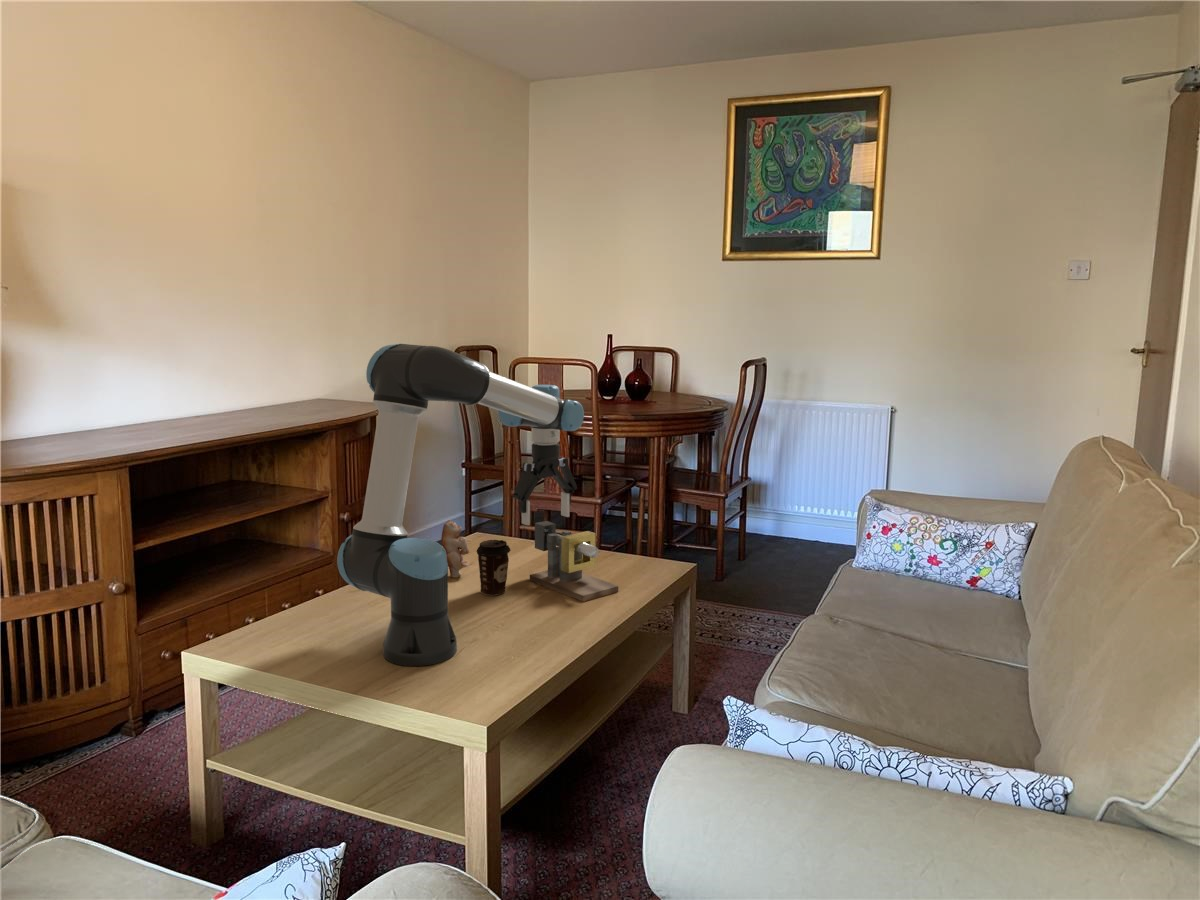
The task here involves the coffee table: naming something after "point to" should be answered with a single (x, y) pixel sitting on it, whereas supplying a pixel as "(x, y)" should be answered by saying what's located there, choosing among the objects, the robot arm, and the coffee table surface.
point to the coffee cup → (493, 566)
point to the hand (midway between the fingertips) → (545, 520)
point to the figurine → (454, 548)
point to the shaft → (550, 528)
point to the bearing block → (570, 576)
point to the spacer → (568, 552)
